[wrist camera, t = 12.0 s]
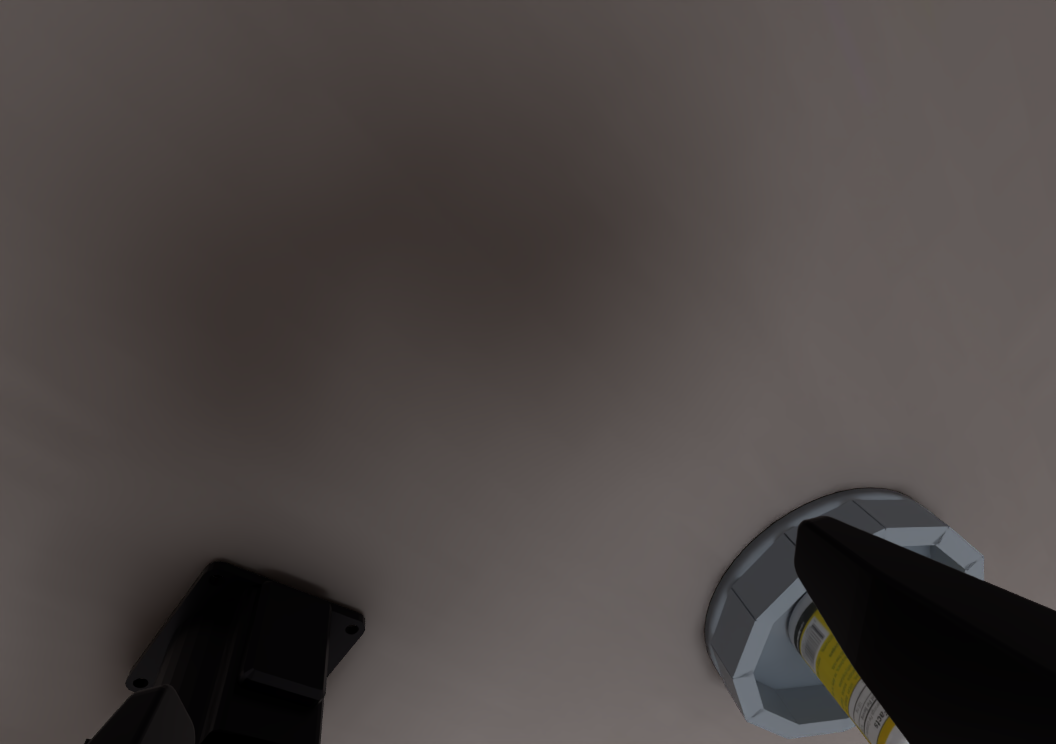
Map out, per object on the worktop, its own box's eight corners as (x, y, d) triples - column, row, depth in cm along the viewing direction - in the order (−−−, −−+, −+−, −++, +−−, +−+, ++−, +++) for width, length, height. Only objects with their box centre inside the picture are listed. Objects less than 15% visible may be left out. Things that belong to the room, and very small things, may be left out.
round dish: (805, 714, 35) (838, 762, 32) (652, 644, 29) (678, 694, 27) (977, 553, 32) (1028, 591, 30) (847, 442, 27) (895, 477, 24)
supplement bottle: (895, 601, 31) (1098, 796, 22) (811, 664, 32) (977, 879, 23) (857, 546, 29) (1069, 742, 20) (766, 616, 29) (933, 836, 20)
